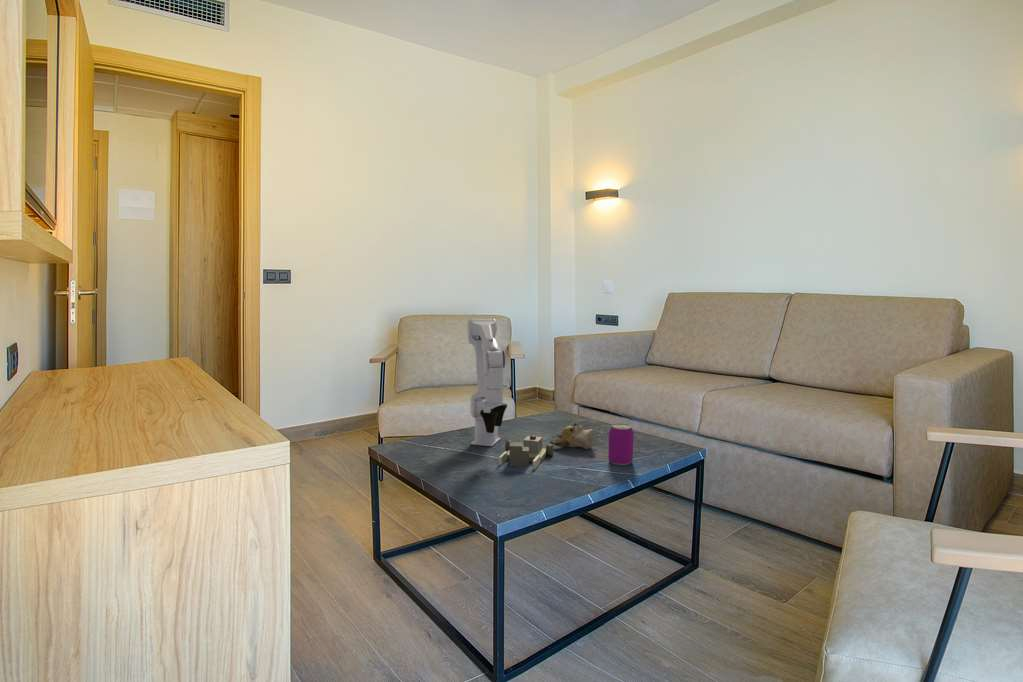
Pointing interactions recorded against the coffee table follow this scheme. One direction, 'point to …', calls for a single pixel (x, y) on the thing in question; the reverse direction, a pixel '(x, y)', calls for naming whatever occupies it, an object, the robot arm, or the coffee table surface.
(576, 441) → the ceramic sculpture
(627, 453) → the beverage can
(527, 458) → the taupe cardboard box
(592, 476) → the coffee table surface
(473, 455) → the coffee table surface
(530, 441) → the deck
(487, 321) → the robot arm
